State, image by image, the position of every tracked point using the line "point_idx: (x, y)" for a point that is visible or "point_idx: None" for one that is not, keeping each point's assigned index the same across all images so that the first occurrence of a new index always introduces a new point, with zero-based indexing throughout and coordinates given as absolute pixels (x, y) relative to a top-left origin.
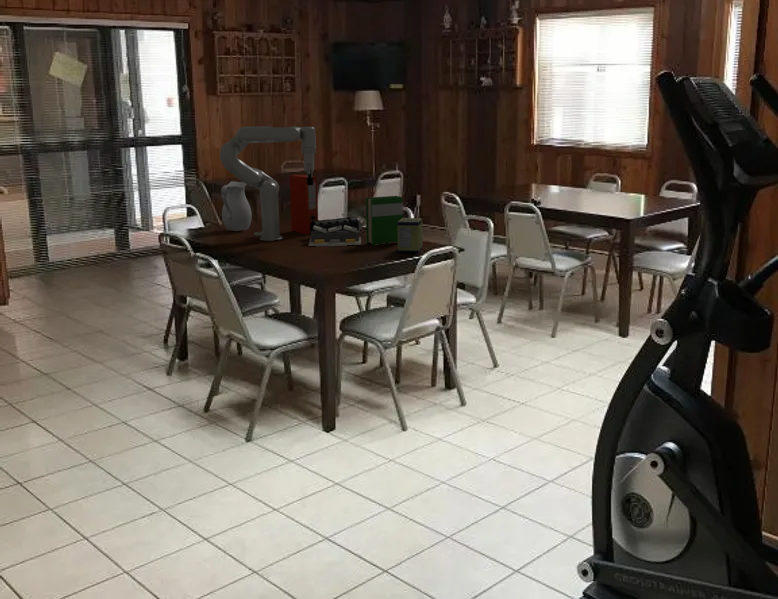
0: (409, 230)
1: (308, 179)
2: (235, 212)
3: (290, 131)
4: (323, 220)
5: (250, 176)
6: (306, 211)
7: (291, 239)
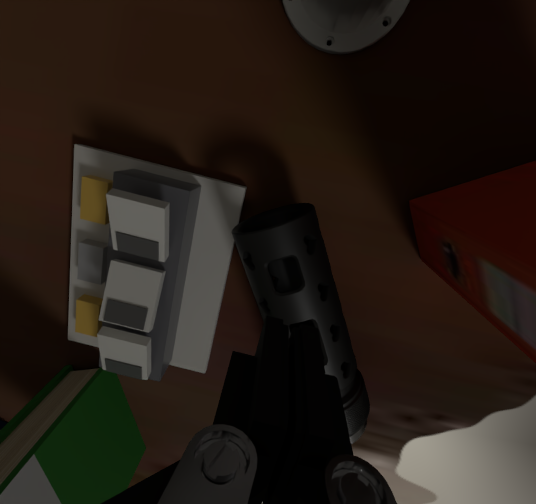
0: None
1: (216, 411)
2: None
3: None
4: (297, 289)
5: None
6: (469, 234)
7: (305, 100)
